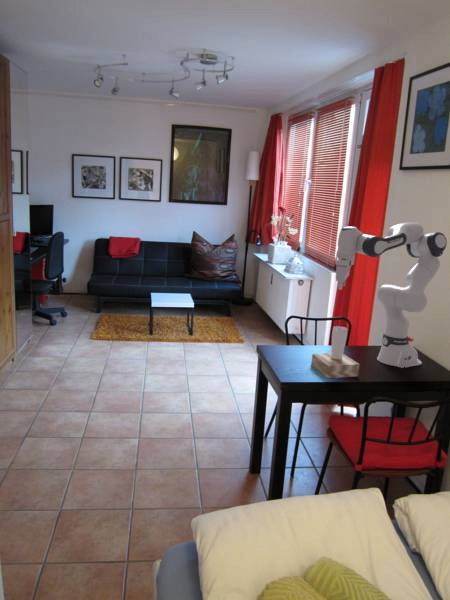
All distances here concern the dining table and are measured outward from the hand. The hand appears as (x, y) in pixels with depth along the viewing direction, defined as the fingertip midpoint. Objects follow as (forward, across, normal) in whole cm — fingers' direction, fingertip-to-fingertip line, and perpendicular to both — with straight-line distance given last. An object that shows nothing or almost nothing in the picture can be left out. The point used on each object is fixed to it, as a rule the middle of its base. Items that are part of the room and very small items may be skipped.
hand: (341, 287), depth 250 cm
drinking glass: (+31, +16, +4) cm, 35 cm away
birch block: (+37, +16, +4) cm, 41 cm away
